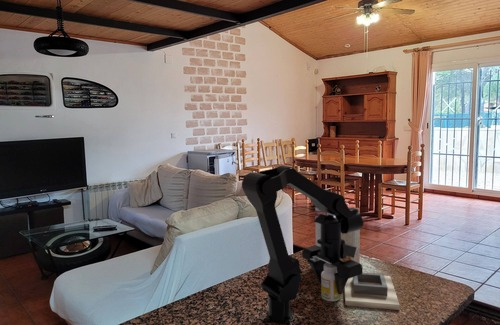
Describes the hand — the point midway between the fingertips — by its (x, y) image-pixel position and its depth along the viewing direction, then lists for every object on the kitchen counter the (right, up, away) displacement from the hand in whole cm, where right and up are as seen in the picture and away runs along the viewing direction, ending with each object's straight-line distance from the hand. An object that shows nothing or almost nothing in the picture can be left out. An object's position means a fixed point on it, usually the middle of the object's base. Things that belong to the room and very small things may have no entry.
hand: (330, 288), depth 107 cm
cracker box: (+7, 0, +22) cm, 23 cm away
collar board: (+12, -2, +3) cm, 12 cm away
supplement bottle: (0, -3, 0) cm, 3 cm away
